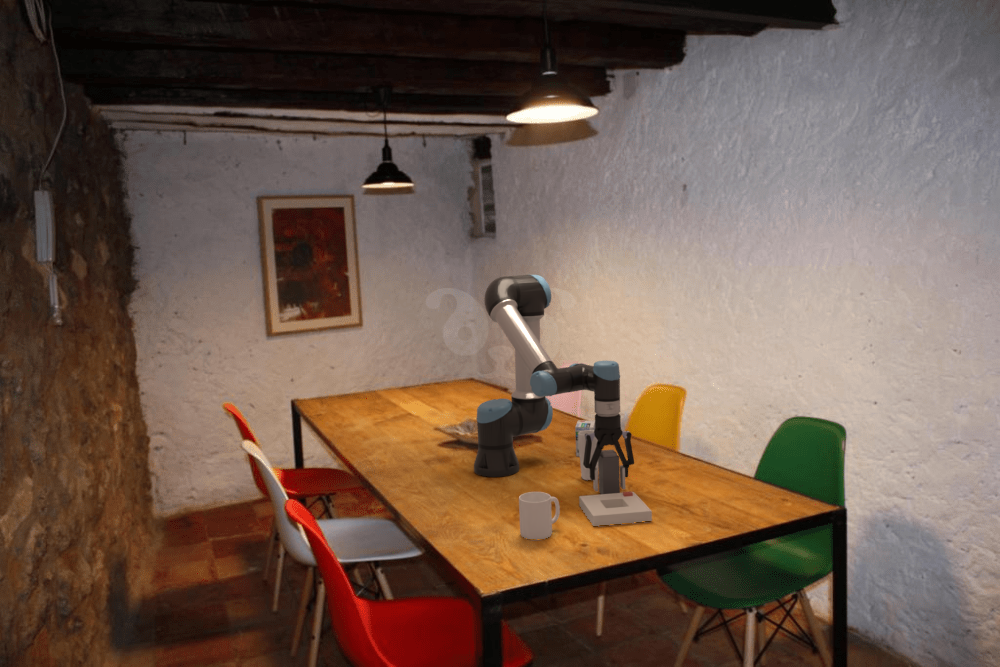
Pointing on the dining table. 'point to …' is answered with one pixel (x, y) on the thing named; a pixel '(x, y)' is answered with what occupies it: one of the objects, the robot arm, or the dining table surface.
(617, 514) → the socket
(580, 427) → the light bulb box
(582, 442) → the drinking glass
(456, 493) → the dining table surface
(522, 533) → the cup
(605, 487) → the plug
